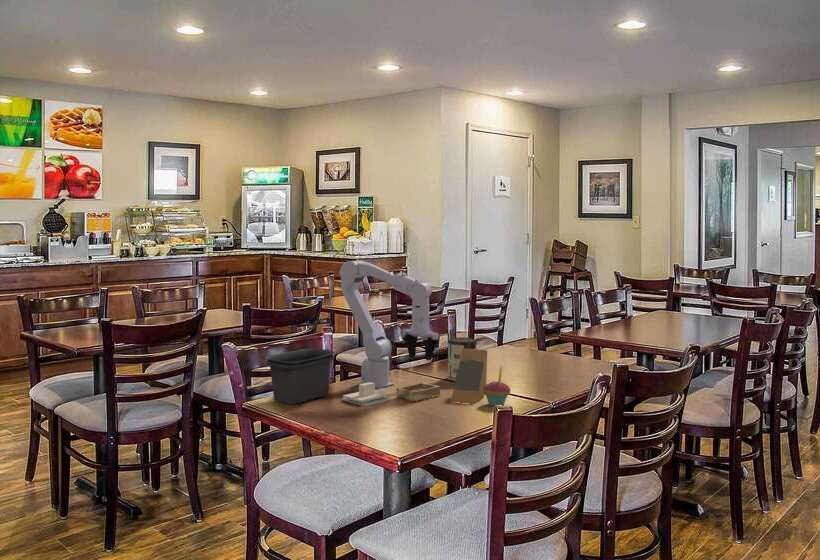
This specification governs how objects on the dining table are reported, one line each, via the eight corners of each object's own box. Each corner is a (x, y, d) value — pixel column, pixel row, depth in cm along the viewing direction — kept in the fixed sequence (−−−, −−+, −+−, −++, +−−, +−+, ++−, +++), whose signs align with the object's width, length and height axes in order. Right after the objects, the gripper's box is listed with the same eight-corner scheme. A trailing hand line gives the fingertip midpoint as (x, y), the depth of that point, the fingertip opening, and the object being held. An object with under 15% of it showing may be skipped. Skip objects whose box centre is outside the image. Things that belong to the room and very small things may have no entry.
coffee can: (474, 375, 273) (475, 337, 272) (477, 381, 262) (477, 342, 261) (446, 375, 273) (447, 337, 272) (447, 381, 263) (448, 341, 261)
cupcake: (494, 400, 236) (495, 362, 235) (516, 404, 230) (516, 366, 229) (477, 404, 230) (477, 366, 229) (498, 409, 224) (499, 370, 223)
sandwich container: (448, 403, 232) (449, 356, 231) (461, 392, 247) (461, 347, 245) (475, 405, 230) (476, 357, 228) (486, 394, 244) (487, 349, 243)
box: (396, 397, 238) (396, 388, 238) (422, 391, 247) (422, 382, 247) (414, 401, 233) (414, 392, 233) (440, 395, 241) (440, 386, 241)
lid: (342, 399, 233) (342, 384, 233) (372, 392, 242) (372, 378, 242) (361, 404, 227) (361, 389, 227) (390, 397, 236) (390, 383, 236)
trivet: (341, 400, 234) (341, 398, 234) (367, 394, 242) (367, 392, 242) (364, 406, 227) (364, 404, 227) (390, 400, 235) (390, 398, 235)
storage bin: (290, 408, 224) (290, 361, 222) (256, 400, 233) (256, 355, 232) (339, 395, 240) (339, 352, 239) (306, 388, 250) (306, 346, 249)
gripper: (396, 317, 251) (396, 357, 252) (428, 321, 241) (428, 363, 242) (411, 315, 256) (411, 354, 257) (442, 319, 246) (442, 360, 247)
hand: (420, 358), depth 250 cm, fingers open, 7 cm apart
